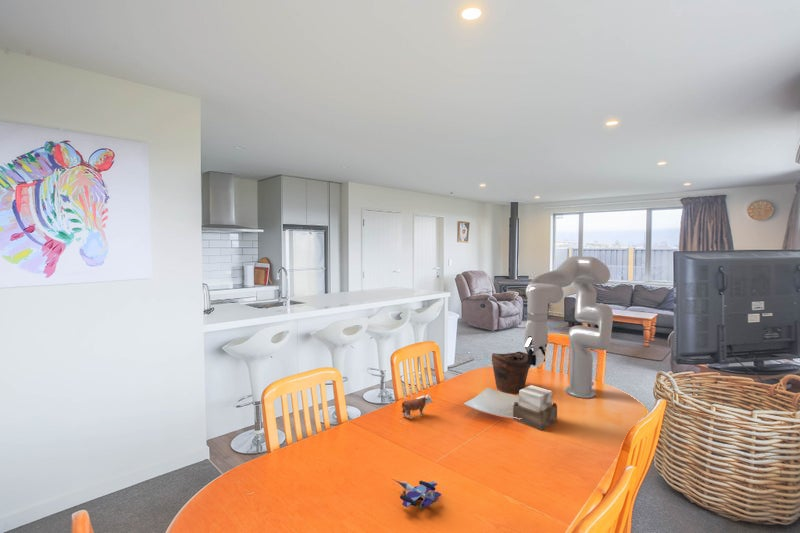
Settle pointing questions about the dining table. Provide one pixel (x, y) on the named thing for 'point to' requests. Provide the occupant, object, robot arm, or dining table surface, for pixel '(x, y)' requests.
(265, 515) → the dining table surface
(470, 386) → the dining table surface
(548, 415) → the knobbed square box
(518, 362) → the brown plant pot
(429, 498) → the toy airplane
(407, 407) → the bull figurine
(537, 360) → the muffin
